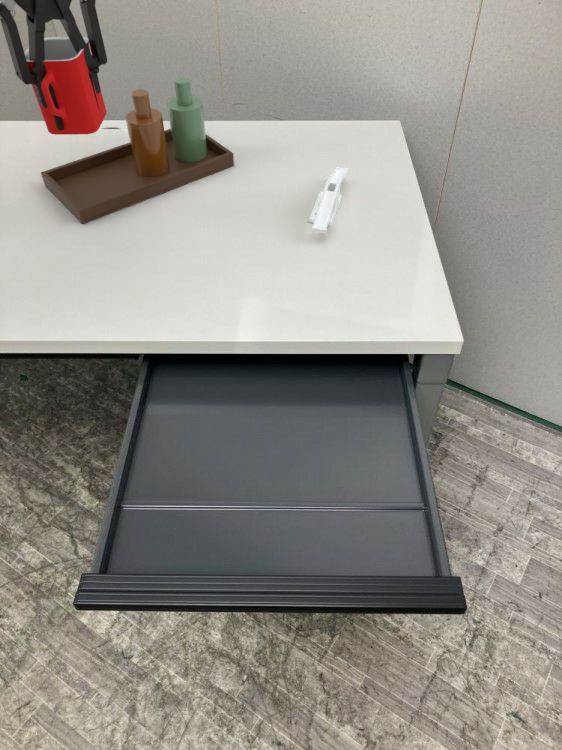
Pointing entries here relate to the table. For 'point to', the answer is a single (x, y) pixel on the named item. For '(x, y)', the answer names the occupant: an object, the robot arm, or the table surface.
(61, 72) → the mug
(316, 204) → the white long narrow piece
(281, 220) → the table surface
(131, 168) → the tray
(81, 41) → the robot arm
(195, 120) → the sage bottle
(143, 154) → the amber bottle
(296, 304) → the table surface
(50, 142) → the table surface
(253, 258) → the table surface
